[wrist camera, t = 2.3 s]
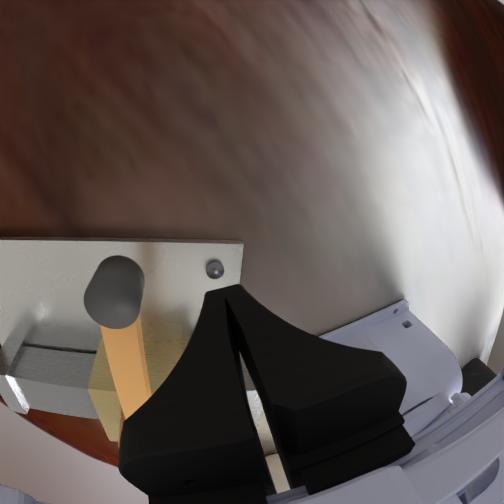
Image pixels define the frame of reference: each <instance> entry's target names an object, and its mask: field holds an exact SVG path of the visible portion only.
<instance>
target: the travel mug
mask: <svg viewBox="0 0 504 504" xmlns="http://www.w3.org/2000/svg"><path fill="white" fill-rule="evenodd" d="M461 372H462V389H461V392H460V393H468V394H469V395H470V396H471V397H472V396H473V395H475V394H476V393H477V392H478V391H480V390H481V389H482V388H483V387H485V386H486V385H487V384H488V383H489V382H491V381H492V380H493V379H494V378H495V377H496V376H497V375H496V374H495V373H494V372H493V371H492V370H491V369H490V368H489V367H488V366H486V365H485V364H484V363H483V362H482V361H481V360H480V359H478V358H476V359H473V360H472V361H470V362H469V363H468V364H467V365H466V366H465V367H464V368H463V369H462V370H461Z"/></svg>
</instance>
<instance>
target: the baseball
mask: <svg viewBox="0 0 504 504" xmlns="http://www.w3.org/2000/svg"><path fill="white" fill-rule="evenodd" d="M265 458H266V461H267V464H268V467H269V470H270V473H271V476H272V479H273V482H274V485H275V488H276V491H277V493H281V492H284V491H288V490H290V487H289V484H288V481H287V478H286V475H285V473H284V470H283V467H282V464H281V461H280V458H279V455H278V454H272V455H269V456H266V457H265Z"/></svg>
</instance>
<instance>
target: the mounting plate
mask: <svg viewBox="0 0 504 504" xmlns="http://www.w3.org/2000/svg"><path fill="white" fill-rule="evenodd" d="M243 246H244V244H243V242H242V240H208V239H164V238H106V237H0V344H1V346H3V344H4V342H5V341H6V339H7V337H8V338H14V339H21V340H24V343H25V345H26V346H28V347H35V348H42V349H50V350H58V351H67V352H77V353H88V354H96V353H97V349H98V346H99V342H100V339H103V335H102V331H101V326H100V324H98V323H97V322H95V321H94V320H93V319H92V318H91V317H90V316H89V314H88V313H87V311H86V309H85V306H84V293H85V290H86V288H87V286H88V284H89V282H90V281H91V279H92V277H93V275H94V273H95V271H96V269H97V267H98V266H99V264H100V263H101V262H102V261H103V260H104V259H105V258H107V257H110V256H114V255H121V256H126V257H128V258H130V259H132V260H134V261H135V262H136V263H137V264H138V265H139V266H140V267H141V269H142V271H143V273H144V276H145V287H144V292H143V297H142V302H141V308H140V319H141V328H142V336H143V341H169V342H189V340H190V338H191V335H192V333H193V331H194V328H195V326H196V323H197V320H198V318H199V315H200V312H201V308H202V305H203V300H204V295H205V293H206V292H207V291H211V290H215V289H219V288H223V287H227V286H231V285H235V284H240V274H241V265H242V256H243Z"/></svg>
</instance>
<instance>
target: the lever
mask: <svg viewBox="0 0 504 504" xmlns="http://www.w3.org/2000/svg"><path fill="white" fill-rule="evenodd" d="M144 287H145V276H144V273H143V271H142V269H141V267H140V266H139V265H138V264H137V263H136V262H135V261H134V260H132V259H130V258H128V257H126V256H121V255H114V256H110V257H107V258H105V259H104V260H103V261H102V262H101V263H100V264H99V266H98V267H97V269H96V271H95V273H94V275H93V277H92V279H91V281H90V282H89V284H88V286H87V288H86V290H85V293H84V306H85V309H86V311H87V313H88V314H89V316H90V317H91V318H92V319H93V320H94V321H95V322H97V323H98V324H100V326H101V331H102V335H103V340H104V345H105V349H106V353H107V357H108V361H109V365H110V369H111V373H112V377H113V380H114V384H115V387H116V391H117V394H118V397H119V401H120V404H121V407H122V410H123V413H124V414H123V415H122V417H121V418H120V427H119V439H118V447H119V443H120V436H121V431H122V427H123V422H124V421H125V420H126V419H127V418H128V417H129V416H131V415H132V414H133V413H134V412H135V411H136V410H137V409H138V408H139V407H141V406H142V405H143V404H144V403H145V402H146V401H147V400H148V399H149V398H150V397H151V396H152V395H151V389H150V383H149V378H148V371H147V365H146V358H145V351H144V344H143V336H142V328H141V319H140V308H141V302H142V297H143V292H144Z"/></svg>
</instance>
